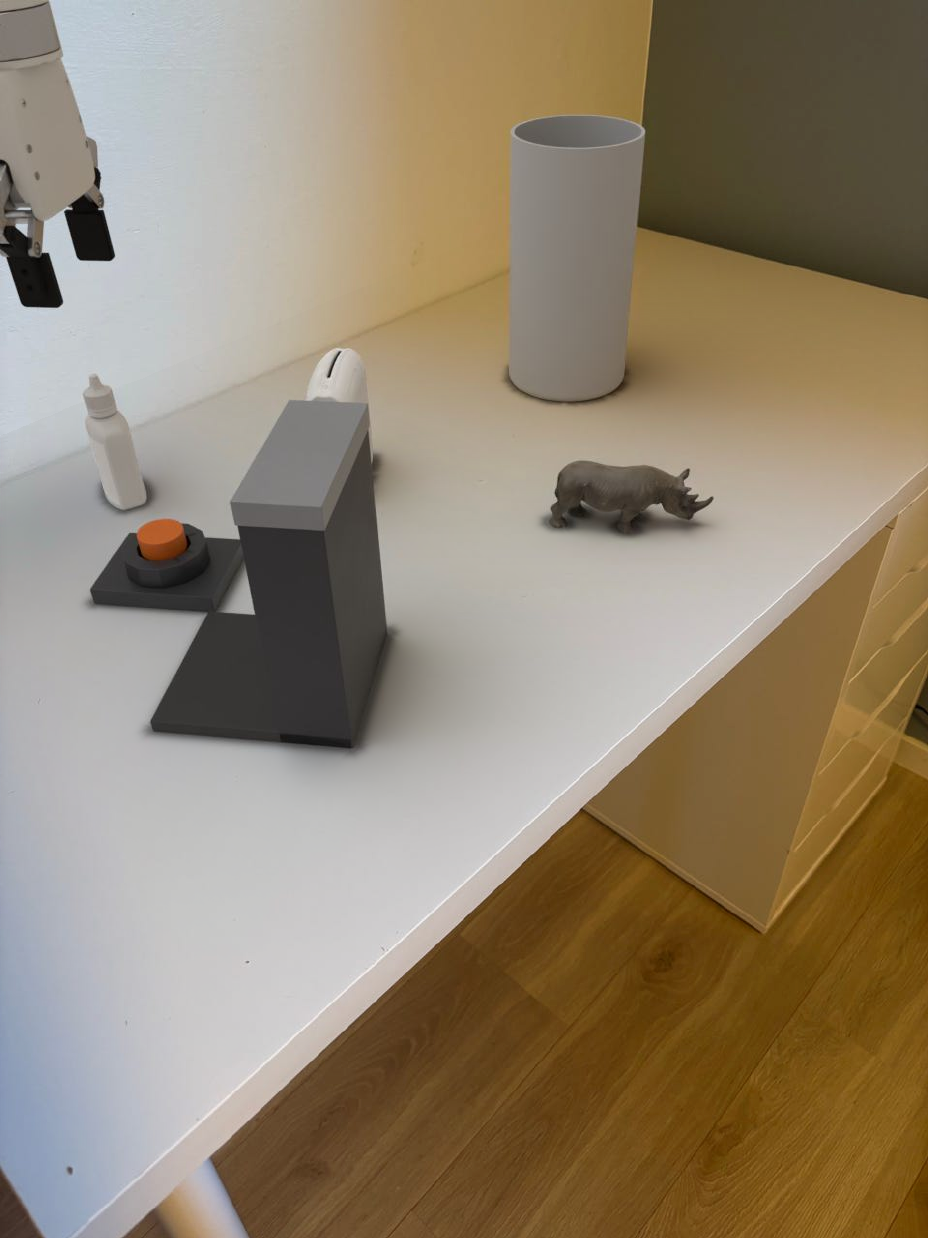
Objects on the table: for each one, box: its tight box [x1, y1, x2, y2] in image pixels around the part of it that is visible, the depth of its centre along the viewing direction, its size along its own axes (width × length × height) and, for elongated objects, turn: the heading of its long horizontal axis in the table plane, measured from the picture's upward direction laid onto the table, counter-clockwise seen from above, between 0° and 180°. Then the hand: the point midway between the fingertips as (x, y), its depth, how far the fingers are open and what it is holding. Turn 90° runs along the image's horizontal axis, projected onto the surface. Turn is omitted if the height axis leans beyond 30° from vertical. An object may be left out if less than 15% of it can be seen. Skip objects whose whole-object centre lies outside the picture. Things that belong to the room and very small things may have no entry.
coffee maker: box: [149, 399, 388, 749], centre depth 66 cm, size 14×12×19 cm
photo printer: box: [305, 347, 374, 464], centre depth 89 cm, size 10×4×12 cm, turn 175°
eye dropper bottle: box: [82, 373, 147, 511], centre depth 88 cm, size 4×6×12 cm
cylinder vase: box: [508, 114, 646, 403], centre depth 101 cm, size 12×12×25 cm
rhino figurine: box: [548, 459, 715, 535], centre depth 85 cm, size 4×14×6 cm, turn 82°
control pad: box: [89, 522, 244, 613], centre depth 81 cm, size 10×8×4 cm
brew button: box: [136, 518, 187, 561], centre depth 79 cm, size 4×4×2 cm
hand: (71, 281), depth 79 cm, fingers open, 9 cm apart
